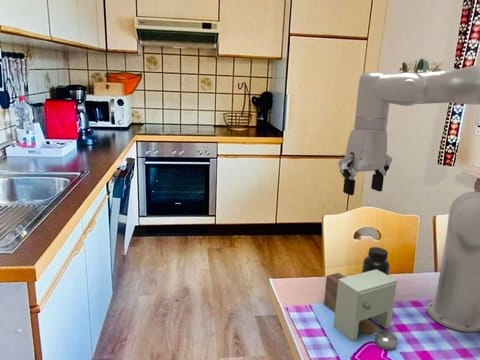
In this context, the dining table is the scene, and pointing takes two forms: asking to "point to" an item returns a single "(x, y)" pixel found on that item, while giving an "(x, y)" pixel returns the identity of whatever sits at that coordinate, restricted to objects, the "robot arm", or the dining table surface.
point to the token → (385, 340)
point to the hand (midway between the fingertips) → (362, 192)
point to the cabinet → (364, 301)
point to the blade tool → (330, 302)
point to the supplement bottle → (376, 261)
